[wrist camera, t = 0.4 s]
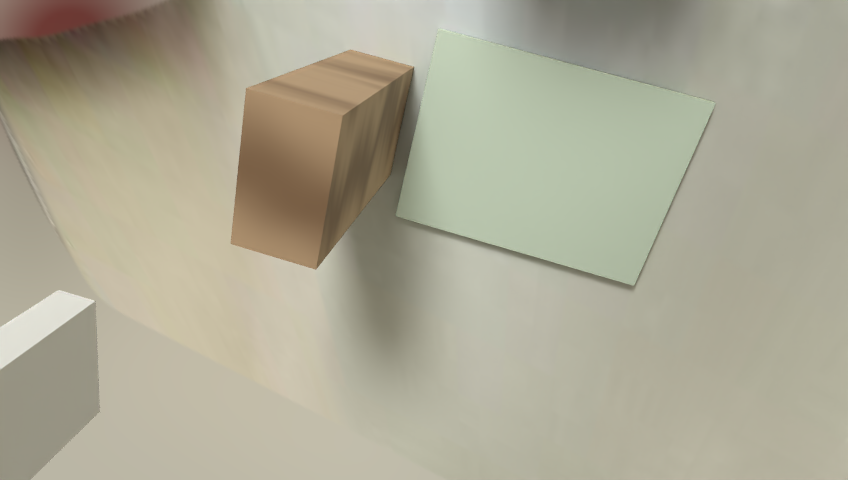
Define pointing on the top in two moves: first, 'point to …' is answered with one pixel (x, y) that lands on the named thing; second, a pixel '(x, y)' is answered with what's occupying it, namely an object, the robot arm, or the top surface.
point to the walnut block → (316, 153)
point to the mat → (547, 156)
